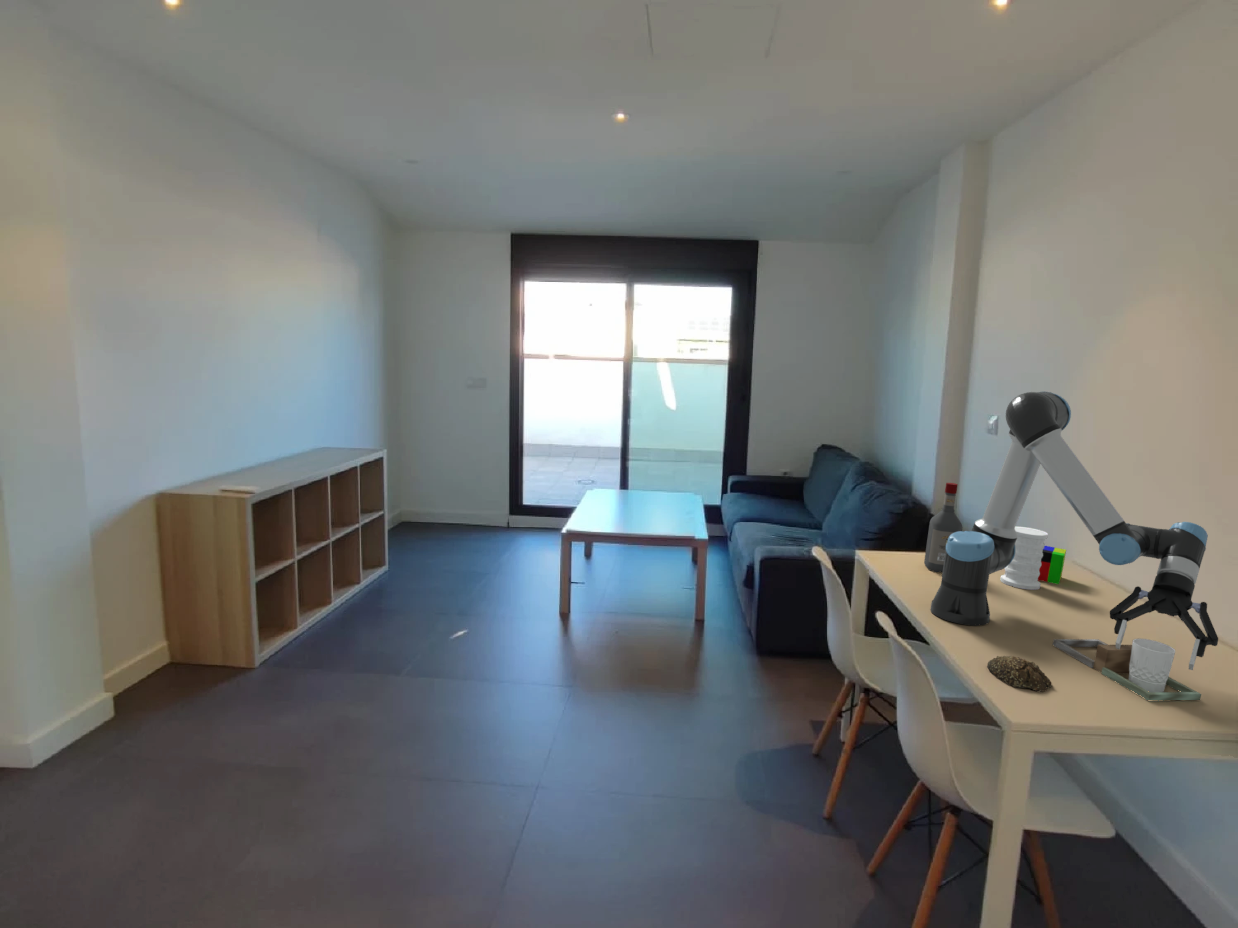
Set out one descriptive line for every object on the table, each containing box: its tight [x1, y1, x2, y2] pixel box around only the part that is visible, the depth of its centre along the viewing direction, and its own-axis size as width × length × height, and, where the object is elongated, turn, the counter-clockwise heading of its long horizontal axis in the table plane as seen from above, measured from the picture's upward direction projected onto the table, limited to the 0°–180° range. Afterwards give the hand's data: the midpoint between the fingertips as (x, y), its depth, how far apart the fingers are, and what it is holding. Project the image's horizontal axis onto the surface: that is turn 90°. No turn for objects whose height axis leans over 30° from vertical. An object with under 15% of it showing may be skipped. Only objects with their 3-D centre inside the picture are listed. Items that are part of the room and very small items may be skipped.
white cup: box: [1127, 638, 1176, 692], centre depth 163 cm, size 8×8×10 cm
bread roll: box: [986, 655, 1052, 693], centre depth 164 cm, size 13×12×5 cm
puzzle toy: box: [1038, 545, 1067, 585], centre depth 243 cm, size 10×10×10 cm
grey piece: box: [1051, 638, 1202, 702], centre depth 171 cm, size 13×29×6 cm, turn 8°
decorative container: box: [999, 526, 1049, 591], centre depth 233 cm, size 12×12×18 cm
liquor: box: [923, 482, 963, 573], centre depth 243 cm, size 9×9×30 cm
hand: (1153, 656), depth 162 cm, fingers open, 13 cm apart
